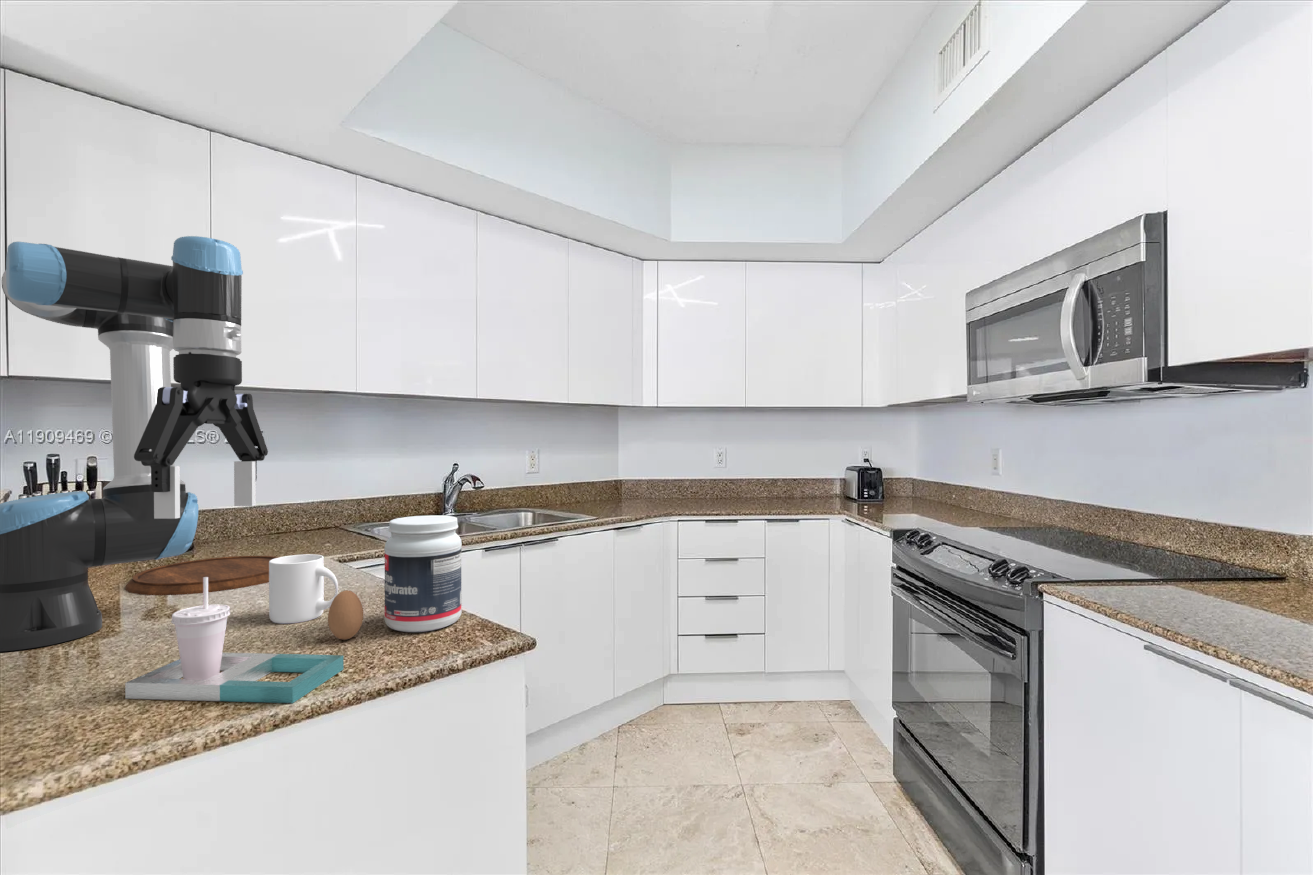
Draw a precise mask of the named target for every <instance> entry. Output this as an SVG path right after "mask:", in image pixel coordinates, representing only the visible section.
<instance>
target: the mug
mask: <svg viewBox="0 0 1313 875" xmlns="http://www.w3.org/2000/svg"><path fill="white" fill-rule="evenodd" d="M278 557H279V558H275V559H272V560H270V561H269V582H268V611H269V612H268V614H269V616H268V617H269V619H270V621H271V622H272V623H275V624H283V625H287V624H288V625H289V624H297V623H298V624H299V623H303V622H309V621H312V620H314V619H318V618H319V617H320V616H322V614H323V613H324V611H325V610H327V609H330V606H331V604H332V602H333V600H334V598H335V597H336V596H337V595H338V594H339V583H338V582H339V581H338V579H337V577H336V575H335V573H333V571H331V570H330V569H329V568H327V567H325V566H324V565H325V564H324V563H325V562H324V560H325V558H324V556H323V555H321V554H314V553H313V554H312V553H310V554H306V553H305V554H303V553H302V554H294V555H293V554H292V555H285V556H278ZM325 578H328V579H329V580H331V581H332V583H333V584H334V587H335V593H334V596H333V597H332V598H331V599H330V600H325V598H324V597H325V594H324V593H325V581H324V580H325Z"/></svg>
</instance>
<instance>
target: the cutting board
mask: <svg viewBox="0 0 1313 875" xmlns="http://www.w3.org/2000/svg"><path fill="white" fill-rule="evenodd" d="M279 557H280V556H276V555H275V556H273V555H235V556H222V557H210V558H202V559H201V558H200V559H195V560H194V559H193V560H188V561H181V562H176V563H171V564H170V563H169V564H164V565H160V566H156V567H152V568H148V569H145V570H143V571H139V572H137V573H135V574H134V575H133V576H132V579H130V580H129V581H128V582H127V583H126V584H125V590H126V591H127V592H128V593H131V594H136V595H141V596H142V595H143V596H180V595H181V596H182V595H183V596H184V595H195V594H203V577H208V593H215V592H223V591H230V590H236V589H237V590H238V589H243V588H249V587H254V586H259V585H262V584H268V583H269V561H270V560H272V559H275V558H279Z"/></svg>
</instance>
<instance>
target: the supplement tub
mask: <svg viewBox="0 0 1313 875" xmlns="http://www.w3.org/2000/svg"><path fill="white" fill-rule="evenodd" d="M388 526H389V528H388V532H389V533H390V535H391V536H390V537H389V538H388V539H387V540H386V542H385V544H384V549H383V550H384V622H385V624H386V626H387V627H388V628H390V629H392V630H394V631H398V632H402V633H403V632H404V633H423V632H424V633H425V632H430V631H436V630H441V629H442V628H445V627H448V626H451V625H452V624H454V623H456V622H457V621H458V620H459V619H460V618H461V615H462V612H463V610H462V606H463V605H462V545H463V544H462V539H461V537H460V536H459V535H458V534H457V533H456V530H457V529H458V528H459V524H458V517H456V516H453V515H443V514H442V515H433V514H432V515H414V516H405V517H398V518H394V519H391V520H389V525H388Z"/></svg>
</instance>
